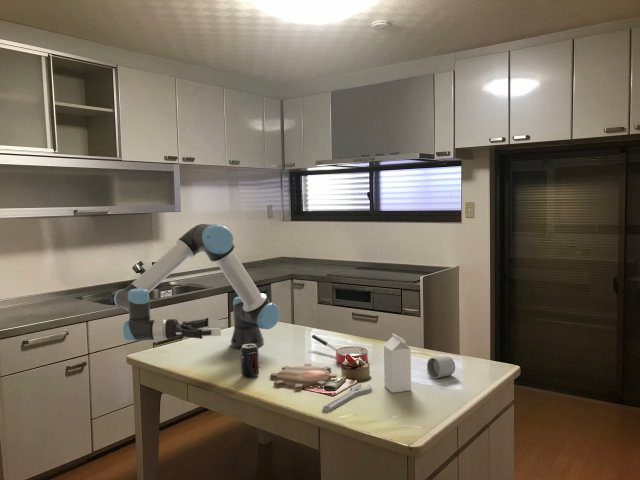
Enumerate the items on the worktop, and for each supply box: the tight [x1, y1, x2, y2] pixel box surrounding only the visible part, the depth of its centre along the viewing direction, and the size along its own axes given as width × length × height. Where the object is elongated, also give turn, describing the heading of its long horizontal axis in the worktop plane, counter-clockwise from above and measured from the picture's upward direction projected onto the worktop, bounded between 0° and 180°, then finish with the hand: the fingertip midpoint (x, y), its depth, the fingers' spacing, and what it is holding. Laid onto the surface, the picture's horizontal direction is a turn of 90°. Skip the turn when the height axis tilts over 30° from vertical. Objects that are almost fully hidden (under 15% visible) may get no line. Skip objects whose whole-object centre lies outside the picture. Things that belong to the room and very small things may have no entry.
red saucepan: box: [311, 334, 369, 365], centre depth 224 cm, size 32×13×6 cm, turn 45°
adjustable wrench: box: [322, 383, 372, 413], centre depth 178 cm, size 25×6×2 cm, turn 138°
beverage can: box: [240, 344, 260, 379], centre depth 203 cm, size 7×7×12 cm
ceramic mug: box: [426, 355, 456, 379], centre depth 198 cm, size 11×8×8 cm
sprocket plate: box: [269, 363, 338, 392], centre depth 199 cm, size 25×25×2 cm
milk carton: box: [383, 333, 412, 394], centre depth 185 cm, size 7×7×19 cm
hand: (223, 327), depth 201 cm, fingers open, 13 cm apart
